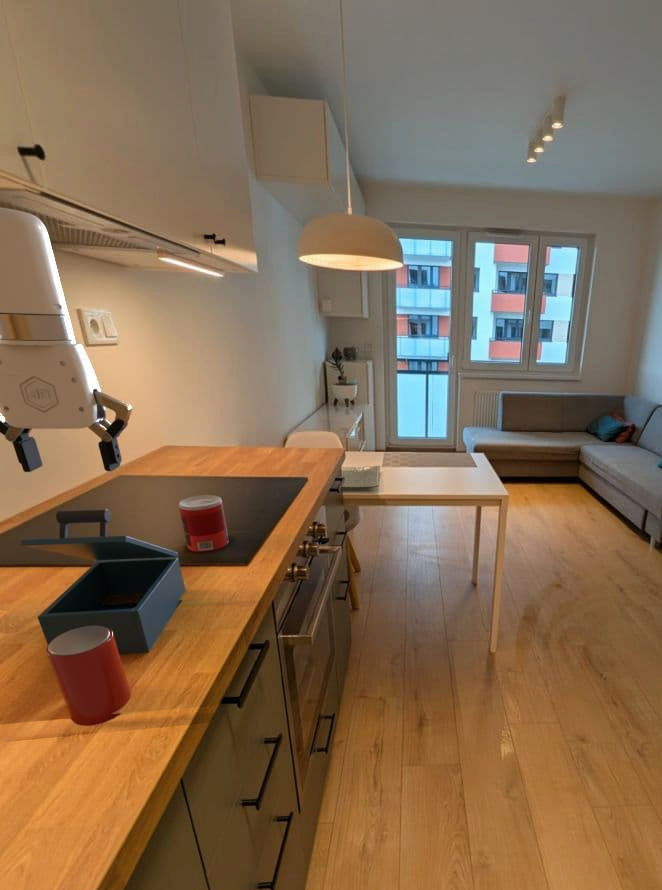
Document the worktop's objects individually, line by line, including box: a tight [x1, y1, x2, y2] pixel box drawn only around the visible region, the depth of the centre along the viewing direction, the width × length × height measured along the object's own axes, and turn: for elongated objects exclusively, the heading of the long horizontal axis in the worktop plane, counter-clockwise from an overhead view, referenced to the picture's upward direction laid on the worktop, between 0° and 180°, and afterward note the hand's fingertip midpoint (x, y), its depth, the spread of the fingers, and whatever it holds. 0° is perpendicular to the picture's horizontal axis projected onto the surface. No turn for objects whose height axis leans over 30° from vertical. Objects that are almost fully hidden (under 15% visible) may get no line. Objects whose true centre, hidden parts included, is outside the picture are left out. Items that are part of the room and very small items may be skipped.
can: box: [45, 626, 132, 726], centre depth 62 cm, size 7×7×10 cm
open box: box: [37, 557, 186, 656], centre depth 79 cm, size 18×13×8 cm
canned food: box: [178, 494, 230, 553], centre depth 105 cm, size 8×8×11 cm
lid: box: [20, 508, 179, 562], centre depth 76 cm, size 18×13×5 cm
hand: (73, 469), depth 68 cm, fingers open, 9 cm apart
